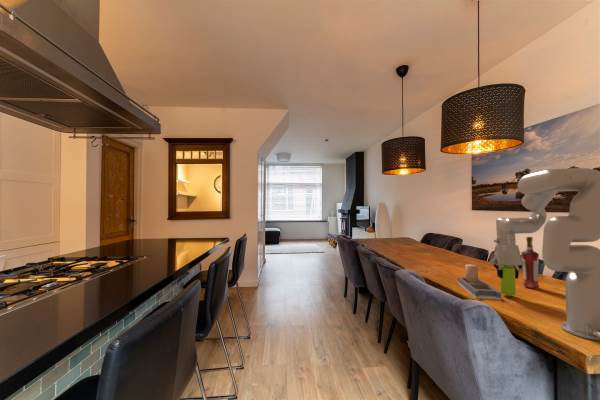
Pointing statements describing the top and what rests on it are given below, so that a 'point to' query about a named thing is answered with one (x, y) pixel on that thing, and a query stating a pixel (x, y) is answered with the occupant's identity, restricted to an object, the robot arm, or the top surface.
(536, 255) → the liquor
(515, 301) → the top surface
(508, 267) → the soap dispenser
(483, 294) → the rail
